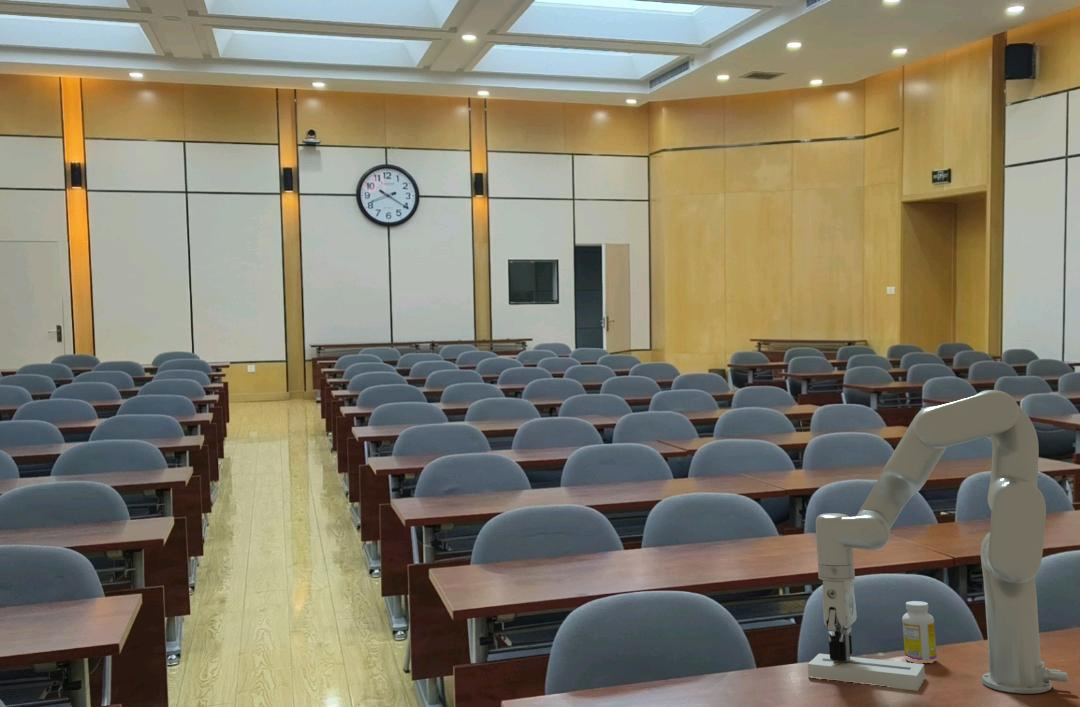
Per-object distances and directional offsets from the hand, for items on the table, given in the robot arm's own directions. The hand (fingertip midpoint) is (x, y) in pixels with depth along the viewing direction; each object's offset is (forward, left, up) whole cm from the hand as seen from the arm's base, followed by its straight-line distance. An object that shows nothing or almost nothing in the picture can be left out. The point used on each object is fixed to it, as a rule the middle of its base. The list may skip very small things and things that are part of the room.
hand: (841, 655), depth 200 cm
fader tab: (0, 0, -1) cm, 1 cm away
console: (-5, 0, -4) cm, 7 cm away
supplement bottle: (-13, -18, -4) cm, 23 cm away
